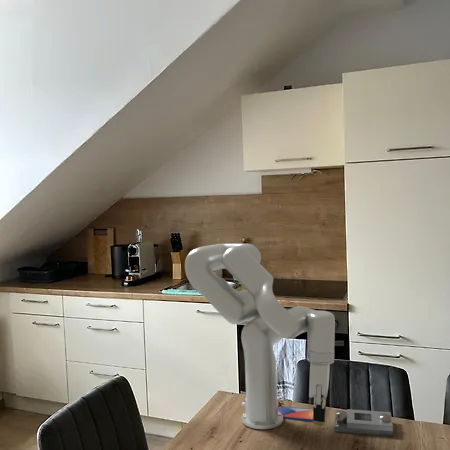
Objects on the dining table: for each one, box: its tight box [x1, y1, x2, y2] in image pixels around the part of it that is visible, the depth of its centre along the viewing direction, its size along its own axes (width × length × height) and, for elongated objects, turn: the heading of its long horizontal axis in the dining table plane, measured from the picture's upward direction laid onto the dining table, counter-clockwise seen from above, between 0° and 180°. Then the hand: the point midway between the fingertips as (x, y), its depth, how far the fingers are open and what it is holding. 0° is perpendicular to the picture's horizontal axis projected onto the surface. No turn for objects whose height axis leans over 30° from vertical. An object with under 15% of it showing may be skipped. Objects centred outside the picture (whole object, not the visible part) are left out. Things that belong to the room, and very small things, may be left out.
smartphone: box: [278, 405, 314, 423], centre depth 154 cm, size 7×15×1 cm, turn 70°
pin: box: [313, 387, 327, 427], centre depth 141 cm, size 3×3×10 cm
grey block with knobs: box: [334, 408, 394, 437], centre depth 145 cm, size 16×9×4 cm, turn 75°
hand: (319, 417), depth 141 cm, fingers closed on pin, 3 cm apart
